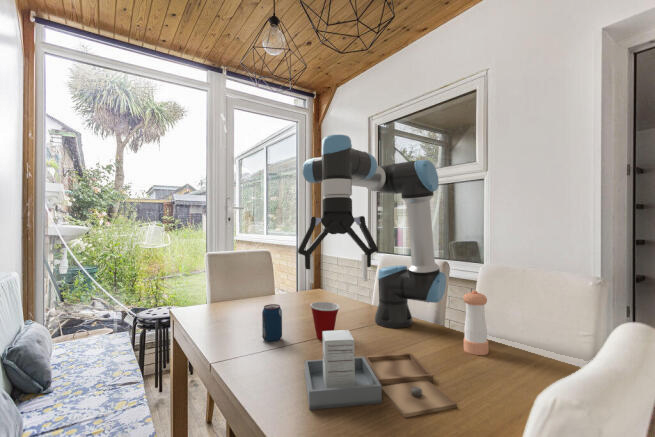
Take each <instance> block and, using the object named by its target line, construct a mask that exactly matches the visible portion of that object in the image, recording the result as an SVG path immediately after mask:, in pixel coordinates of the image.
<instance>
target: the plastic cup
mask: <svg viewBox="0 0 655 437" xmlns="http://www.w3.org/2000/svg"><path fill="white" fill-rule="evenodd" d="M310 308H311V314H312V316H313V324H314V325H313V326H314V329H315V330H314V331H315V336H316V339H317V340H318V341H319V340H320V341H323V337H322V331H334V330H335V326H336V320H337V315H338V312H339V309H341V306H340V304H338V303H336V302H335V303H334V302H330V301H314V302H312V303H310Z"/></svg>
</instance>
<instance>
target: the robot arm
mask: <svg viewBox="0 0 655 437" xmlns="http://www.w3.org/2000/svg"><path fill="white" fill-rule="evenodd" d="M320 155H321V156H320V157H319V156H318V157H313V158H309V159H306V161H304V163H303V164H302V175H303V178H304V180H305V181H306V182H308V183H310V184H319V183H322V184H321V185H322V196H323V199H322V200H321V201H322V216H321V217H315V216H311V217H310V219H309V226H308V228H307V230H306V233H305V234H304V236H303V238H302V241H301V242H300V245H299V246H298V249H297V252H298V255H302V256H304V266H305V269H306V270H309V282H310V284H314V256H313V255H312V254H313V253H314V252H315V250H316V249H317V247H318V246H319V245H320V244H321V242H322V241H323V240H324V239H325V238H326V237H327V235H329V234H331V235H337V234H339V235H345V234H347V235H348V236H349V237H350V238H351V239H352V240H353V241H354V242H355V244H356V245H357V246H358V247H359V248H360V250H362V252H363V253H364V254H361V280H362V281H363V282H368V268H371V266H372V254H374V253H378V251H379V248H378V246H377V244H376V242H375V240H374V238H373V236H372V234H371V232H370V231H369V228H368V226H367V223H366V218H365V216H364V215H361V216H360V215H359V216H356V217H354V216H353V215H354V214H353V199H352V198H351V196H352V195H353V188H352V186H353V187H360V188H361V187H362V188H366V189H367V190H369V191H372V192H377V193H384V194H391V195H392V194H393V195H395V194H396V195H397V194H398V195H399V194H401V195H400V196H401V200H402V201H404V203H406V212H407V215H406V216H407V225H408V227H407V228H408V235H409V236H408V237H409V246H410V258H411V263H410V265H409V266H407V265H391V266H384V267H381V268H380V269H379V270H378V278H377V280H378V305H377V309H376V312H375V315H374V322H375V324H377V326H378V325H379V326H381V327H385V328H390V329H391V328H393V329H394V328H395V329H401V328H402V329H403V328H407V327H410V326H412V325H413V317H412V313H411V309H410V307H409V303H408V302H409V301H408V300H410V301H418V302H423V303H428V304H429V303H435V304H437V303H439V302H440V301H441V300H442V299H443V297H444V295H445V291H446V287H447V276H446V274H445V273H444V272H442V271H441V270H440V266H439V264H438V263H436V259H435V248H434V237H433V224H432V213H431V212H432V210H431V199H432V198H433V197H434V192H436V191H437V190H438V188H439V174H438V171H437V168H436V167H435V165H434V163H433V162H432V161H431V160H428V159H420V160H419V159H418V160H411V161H403V162H398V163H397V162H396V163H390V164H384V165H378V163H377V162H378V161H377V159H376V158H375V156H374V155H373V154H370V153H368V152H367V151H362V150H358V149H355V148H353V145H352V139H351V137H350V136H349V135H345V134H331V135H326V136H325V137H324V138H323V139H322V141H321V153H320ZM320 223H321V225H322V226H323V227H324V228H323V229H322V230H321V231H320V233H319V234H318V236H316V238H315V239H314V241H313V242H312V243H311V244H310V246H309V247H308V248H307V249H306V247H307V245H308V243H309V240H310V239H311V236H312V234H313V232H314V231H315V228H316V226H317V227H318V225H319V224H320ZM354 223H356V225H357V226H359V229H360V230H361V233H362V234H363V236H364V239H365V241H366V243H367V245H366V243H364V241H363V240H362V239H361V238H360V236H359V235H358V234H357V233H356V232H355V230H354V229H353V228H352V226H353V224H354ZM368 246H369V247H368Z"/></svg>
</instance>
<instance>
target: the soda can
mask: <svg viewBox="0 0 655 437" xmlns="http://www.w3.org/2000/svg"><path fill="white" fill-rule="evenodd" d="M261 313H262V314H261V315H262V318H261V319H262V320H261V323H262V330H261V331H262V333H261V334H262V335H261V337H262V340H264V342H265V343H268V344H269V343H271V344H274V343H278V342H279V341H280V340H281V339H282V337H283V309H282V308H281V305H280V304H275V303H274V304H267V305H264V306H263V310H262V312H261Z"/></svg>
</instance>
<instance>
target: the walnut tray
mask: <svg viewBox="0 0 655 437" xmlns="http://www.w3.org/2000/svg"><path fill="white" fill-rule="evenodd" d="M363 357H364V358H365V359H366V361H367V363H368V364H369V366H370V368H371V369H372V371H373V373H374V374H375V376H376V377H377V379H378V381H379V382H380V384H381V386H388V385H394V384H401V383H407V382H413V381H419V380H428V381H429V382H431V383H434V374H433V373H432V372H431V371H430V370H429V369H427V368H426V366H425V365H423V363H422V362H421V361H420V360H419V359H418V358H417V357H416V356H415V355H414V354H413V353H412V352H407V353H406V352H405V353H395V354H394V353H392V354H379V355H378V354H377V355H364V356H363Z"/></svg>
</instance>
